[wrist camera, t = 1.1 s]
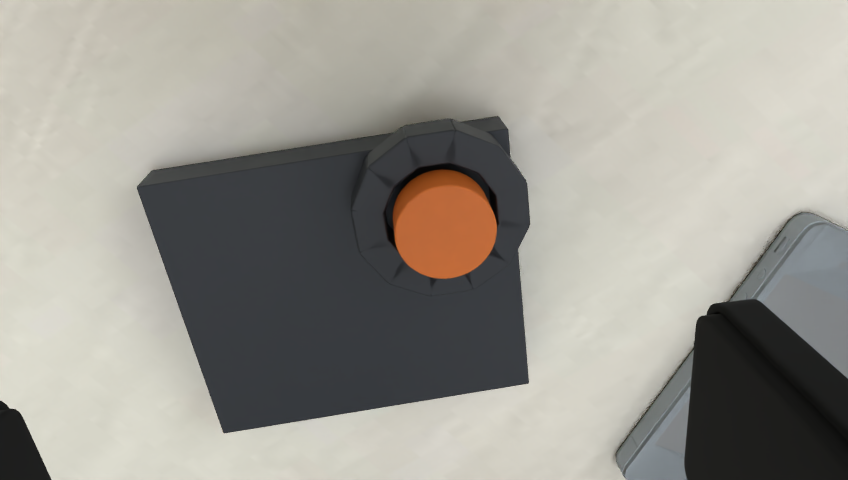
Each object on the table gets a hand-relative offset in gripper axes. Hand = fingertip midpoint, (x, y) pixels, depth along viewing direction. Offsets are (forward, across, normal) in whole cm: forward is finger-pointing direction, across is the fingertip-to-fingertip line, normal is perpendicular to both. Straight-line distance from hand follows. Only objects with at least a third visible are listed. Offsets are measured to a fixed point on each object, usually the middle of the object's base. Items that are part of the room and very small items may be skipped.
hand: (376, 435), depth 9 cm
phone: (+18, -18, +15) cm, 30 cm away
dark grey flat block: (+18, +2, +7) cm, 19 cm away
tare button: (+15, -2, +3) cm, 15 cm away
